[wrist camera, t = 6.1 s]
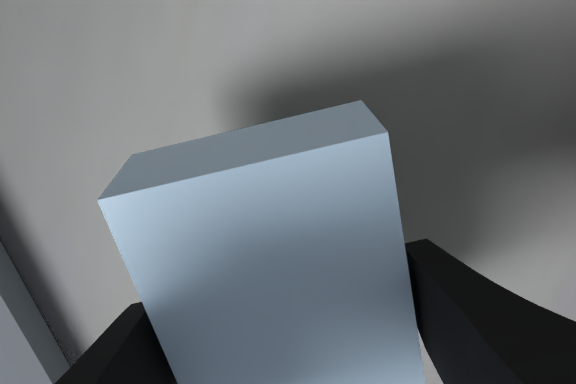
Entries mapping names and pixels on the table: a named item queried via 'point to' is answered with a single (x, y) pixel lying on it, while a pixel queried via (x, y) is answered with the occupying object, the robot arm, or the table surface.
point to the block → (272, 253)
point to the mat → (24, 334)
